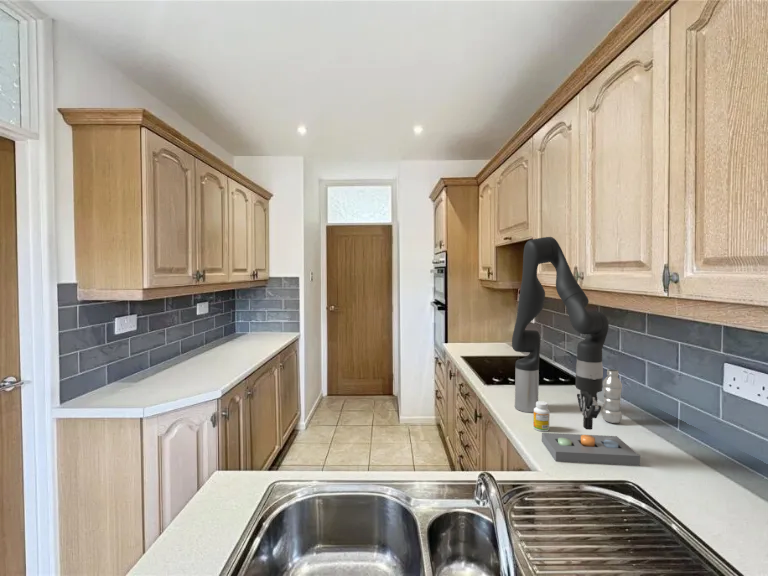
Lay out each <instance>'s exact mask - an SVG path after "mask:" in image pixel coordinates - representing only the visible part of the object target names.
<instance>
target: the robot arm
mask: <svg viewBox="0 0 768 576" xmlns="http://www.w3.org/2000/svg"><path fill="white" fill-rule="evenodd" d="M522 255H523V258H522V259H523V261H522V274H521V275H522V276H521V277H522V278H521V284H520V291H519V296H518V304H517V305H518V306H517V314H516V319H515V323H514V329H513V332H512V338H511V346H512V349H513V350H514V351H515V352H518V353H529V354H528V355H526V356H525V357H523V358H519V359H517V360H515V364H514V365H515V367H514V368H515V369H514V370H515V374H514V375H515V376H514V377H515V379H514V382H515V383H514V409H515V410H518V411H520V412H524V413H534V408H535V407H536V402H537V401H539V389H540V388H539V384H540V381H539V380H540V374H539V372H540V371H539V370H540V354H541V353H540V352H541V335H540V332H539V330H533V329H532V330H531V329H526V328H527V326H528V325H530V323H531V322H533V320H534V319H536V317H538V315H540V313H541V312H542V310H543V309H544V304H545V300H546V299H545V298H546V291H545V288H544V287H543V285H542V283H541V282H540V280H539V278H538V267H539V265H540V264H542V265H543V264H546V263H551V264H552V266H553V267H554V269H555V274H556V277H555V290H556V292H557V294H558V296H559V298H560V299H561V301H562V303H563V304H564V306H565V308H566V311H567V314H568V318H569V321H570V324H571V327H573V329H574V330H575V332H577V333H579V334H580V335H586V337H585V338H584V339H583V340H581V341H579V342H578V344H577V346H576V347H577V349H576V365H575V388H576V389H577V390H578V391H580V393H577V394H576V399H577V401H578V406H579V410H580V411H579V412H581V413H582V417H583V420H582V421H583V422H582V426H583V429H585V430H590V431H591V430H593V424H594V423H593V422H594V420H593V419H597V418H598V415H599V414H600V413H601V411H602V406H601V405H600V404H599V405H598V399H599V398H598V395H597V394H598V393H601V392H603V380H604V375H603V373H604V368H603V348H604V345H605V342H606V339H607V335H608V332H609V321H608V317H607V316H606V315H605V313H603V312H602V311H600V310H597V311H596V310H593V311H591V310H590V311H587V310H586V307H587V306H588V304H589V298H588V296H587V294H586V293H585V291H584V290H583V289H582V287H581V286H580V285H579V283H578V282H577V280H576V277H574V274H573V273H572V270H571V268H570V265H569V263H568V260H567V259H566V256H565V254H564V252H563V250H562V248H561V245H560V244H559V243H558V241H557V239H555V238H554V237H552V236H545V237H539V238H533V239H529V240H528V241H526V243H525V244H524V248H523V254H522Z"/></svg>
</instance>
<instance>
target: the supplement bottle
mask: <svg viewBox="0 0 768 576" xmlns="http://www.w3.org/2000/svg"><path fill="white" fill-rule="evenodd" d="M548 407H549V405H548V402H546V401H542V400H538V401H537V402H536V407H535V408H534V412H533V424H532V425H533V429H534V430H535V431H538V432H542V433H546V432H548V431H549V430H550V409H549V408H548Z"/></svg>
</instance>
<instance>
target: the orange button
mask: <svg viewBox="0 0 768 576" xmlns="http://www.w3.org/2000/svg"><path fill="white" fill-rule="evenodd" d="M590 435H591V434H581V445H582V446H584V447H595V438H594V437H593V436H590Z"/></svg>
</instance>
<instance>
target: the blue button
mask: <svg viewBox="0 0 768 576" xmlns="http://www.w3.org/2000/svg"><path fill="white" fill-rule="evenodd" d="M604 445H605V446H606V447H607V448H618V443H617V442H615V441H612V440H604Z"/></svg>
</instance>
